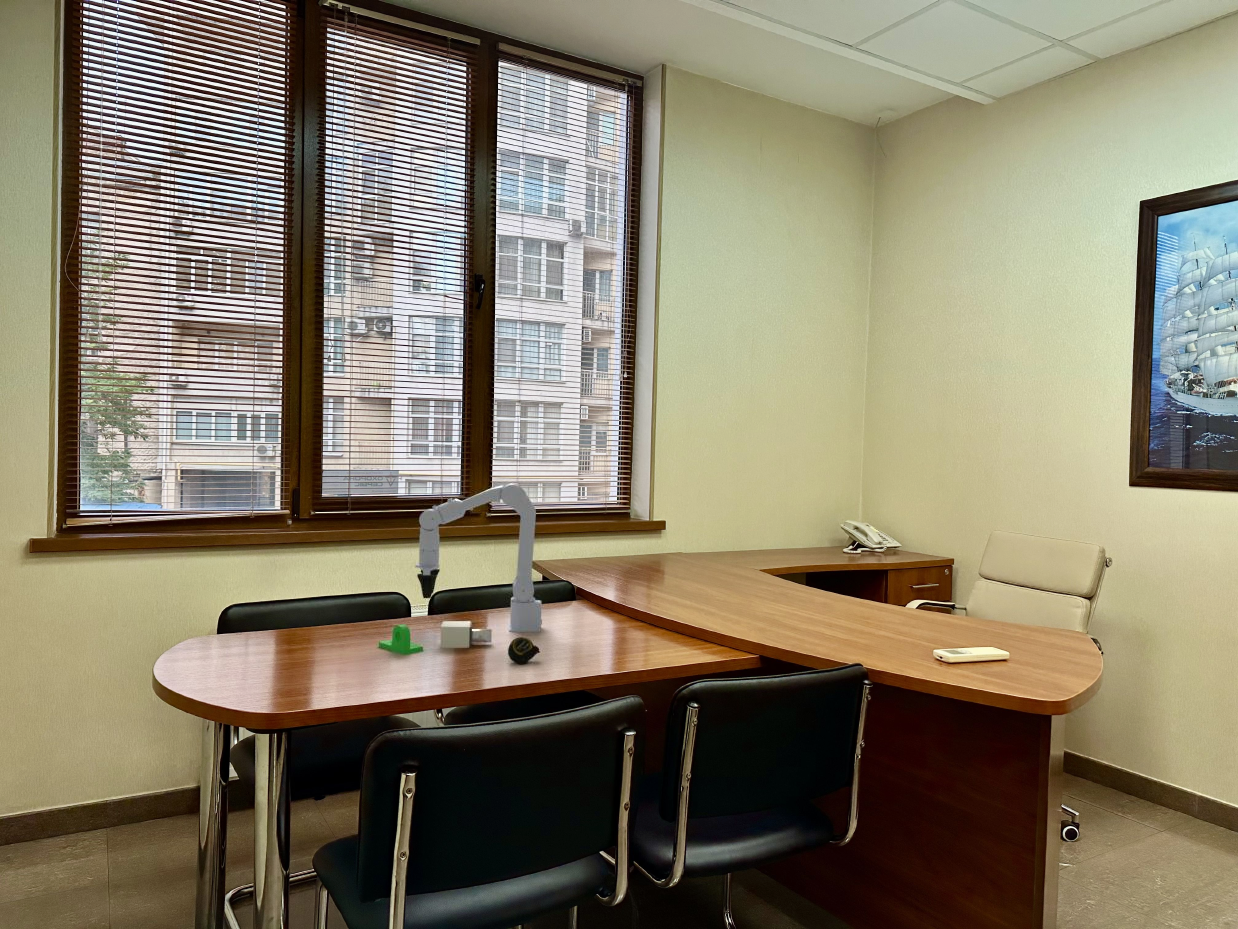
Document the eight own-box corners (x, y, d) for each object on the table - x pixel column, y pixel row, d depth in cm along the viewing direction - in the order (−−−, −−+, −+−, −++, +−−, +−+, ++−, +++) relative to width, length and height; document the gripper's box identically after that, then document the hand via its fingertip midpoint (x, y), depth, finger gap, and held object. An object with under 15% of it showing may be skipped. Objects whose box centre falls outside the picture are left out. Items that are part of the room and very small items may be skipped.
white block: (471, 643, 242) (472, 621, 242) (470, 649, 235) (470, 626, 235) (442, 643, 241) (443, 621, 241) (440, 649, 234) (441, 626, 234)
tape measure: (520, 671, 219) (523, 664, 217) (501, 653, 221) (504, 645, 219) (538, 656, 224) (541, 648, 221) (519, 638, 226) (522, 630, 223)
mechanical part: (422, 654, 231) (423, 624, 230) (403, 657, 226) (404, 627, 226) (398, 645, 239) (398, 616, 238) (378, 649, 234) (379, 619, 234)
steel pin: (491, 640, 241) (491, 628, 241) (491, 643, 238) (491, 630, 238) (458, 640, 240) (458, 628, 240) (457, 644, 237) (458, 630, 236)
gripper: (418, 546, 263) (417, 591, 264) (412, 553, 249) (411, 600, 249) (441, 547, 264) (440, 591, 265) (437, 553, 250) (436, 600, 250)
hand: (428, 595), depth 257 cm, fingers open, 7 cm apart
